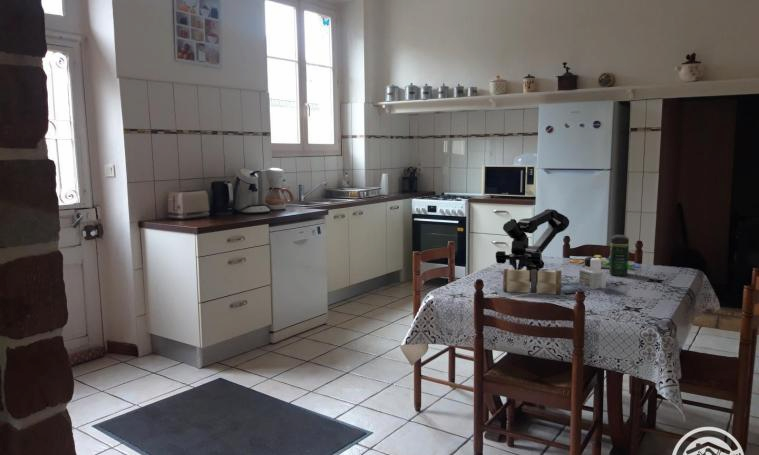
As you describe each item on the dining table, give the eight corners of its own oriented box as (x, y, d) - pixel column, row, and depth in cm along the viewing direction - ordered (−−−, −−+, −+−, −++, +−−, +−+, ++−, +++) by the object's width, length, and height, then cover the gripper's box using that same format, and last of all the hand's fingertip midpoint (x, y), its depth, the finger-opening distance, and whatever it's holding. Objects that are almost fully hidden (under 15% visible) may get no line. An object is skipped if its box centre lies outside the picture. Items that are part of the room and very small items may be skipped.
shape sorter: (564, 266, 294) (564, 257, 293) (573, 260, 310) (573, 251, 309) (636, 272, 276) (636, 263, 276) (641, 265, 292) (642, 256, 292)
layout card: (493, 290, 246) (493, 288, 246) (553, 288, 247) (553, 286, 247) (501, 298, 231) (501, 297, 231) (565, 297, 232) (565, 295, 232)
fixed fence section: (561, 293, 235) (561, 269, 233) (561, 294, 232) (561, 271, 231) (537, 291, 237) (538, 268, 236) (537, 293, 235) (537, 270, 234)
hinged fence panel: (536, 291, 238) (536, 269, 236) (536, 293, 235) (536, 270, 234) (503, 290, 242) (503, 268, 241) (502, 291, 240) (503, 269, 238)
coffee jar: (628, 276, 265) (629, 236, 263) (609, 275, 268) (610, 236, 266) (627, 272, 274) (628, 233, 272) (609, 271, 277) (610, 233, 275)
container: (578, 286, 249) (579, 256, 247) (592, 284, 252) (593, 255, 250) (591, 290, 242) (592, 259, 240) (606, 288, 245) (607, 258, 243)
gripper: (496, 232, 249) (492, 262, 240) (541, 233, 243) (539, 264, 234) (498, 247, 257) (495, 277, 248) (542, 249, 251) (540, 279, 242)
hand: (516, 274), depth 243 cm, fingers closed
